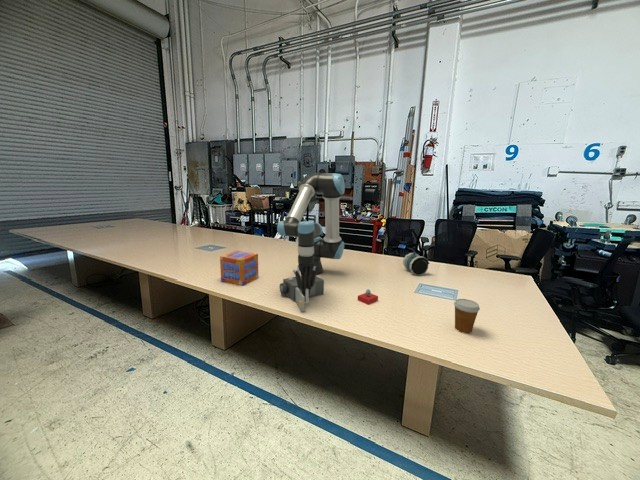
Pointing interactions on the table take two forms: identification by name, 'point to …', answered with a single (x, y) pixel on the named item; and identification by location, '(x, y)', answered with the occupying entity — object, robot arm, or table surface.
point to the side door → (299, 298)
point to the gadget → (415, 263)
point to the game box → (239, 267)
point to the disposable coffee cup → (465, 314)
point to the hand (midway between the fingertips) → (305, 301)
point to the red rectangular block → (368, 297)
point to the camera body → (290, 285)
